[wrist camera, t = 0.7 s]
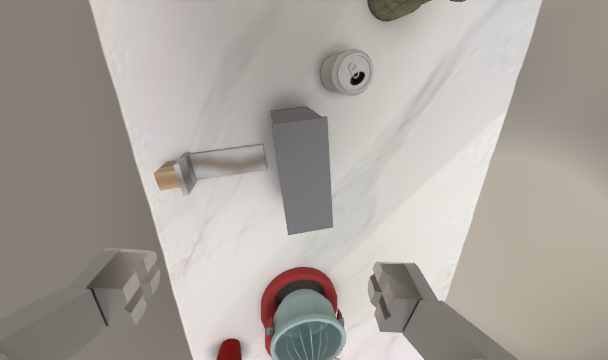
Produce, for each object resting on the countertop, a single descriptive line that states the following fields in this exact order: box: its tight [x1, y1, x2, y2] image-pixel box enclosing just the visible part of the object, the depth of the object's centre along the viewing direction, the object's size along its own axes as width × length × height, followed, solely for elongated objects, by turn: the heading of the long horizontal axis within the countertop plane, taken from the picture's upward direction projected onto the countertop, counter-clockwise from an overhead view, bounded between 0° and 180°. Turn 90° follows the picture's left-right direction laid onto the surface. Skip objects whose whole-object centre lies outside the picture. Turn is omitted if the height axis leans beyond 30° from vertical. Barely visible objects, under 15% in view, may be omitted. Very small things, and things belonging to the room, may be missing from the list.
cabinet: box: [271, 107, 333, 235], centre depth 49 cm, size 21×9×17 cm, turn 6°
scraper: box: [154, 144, 267, 196], centre depth 51 cm, size 7×21×8 cm, turn 96°
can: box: [320, 49, 373, 96], centre depth 46 cm, size 8×8×12 cm
